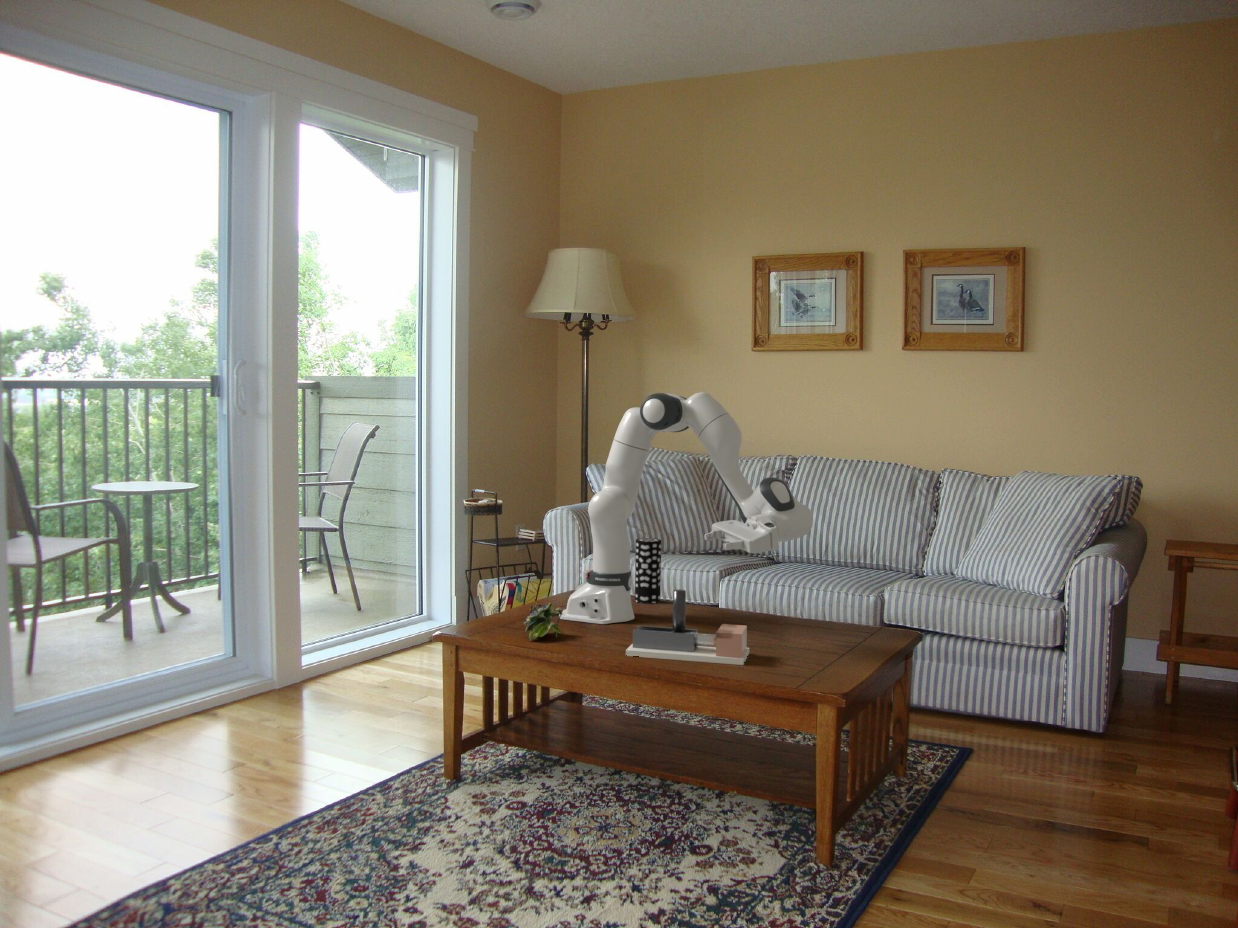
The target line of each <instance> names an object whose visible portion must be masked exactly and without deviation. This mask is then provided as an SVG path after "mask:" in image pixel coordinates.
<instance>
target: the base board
mask: <svg viewBox="0 0 1238 928" xmlns="http://www.w3.org/2000/svg"><path fill="white" fill-rule="evenodd" d="M749 654H750V647H746V650H745V652H744V654H743V656H742V658H735V657H722V656H716V647H704V646H698V647H697V648H696V650H695V651H694V652H685V651H672V650H659V649H646V648H633V642H632V643H631V644H630V645H629V646H628V647H627V648H626V649H625V656H626V655H627V656H626V657H633V656H639V657H638V658H649V659H657V660H658V659H659V660H672V661H673V660H674V661H684V662H686V661H687V662H695V663H696V662H699V663H709V664H711V663H712V664H721V665H722V664H724V665H737V666H744V665H745V663H746V660H747V659H748V657H749ZM747 656H748V657H747ZM744 662H745V663H744Z"/></svg>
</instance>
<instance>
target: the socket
mask: <svg viewBox="0 0 1238 928" xmlns="http://www.w3.org/2000/svg"><path fill="white" fill-rule="evenodd" d="M715 635H716V656H722V657H735V658H742V656H743V654H744V652H745V650H746V648H748V646H747V645H748V644H747V642H748V640H747V638H748V636H747V635H748V625H743V624H742V625H741V624H730V623H722V624H721V625H720V627H718V629H717V631H716V633H715Z"/></svg>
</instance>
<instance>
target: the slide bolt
mask: <svg viewBox="0 0 1238 928" xmlns="http://www.w3.org/2000/svg"><path fill="white" fill-rule="evenodd" d="M672 594H673V595H672V598H673V599H672V628H673V632H680V633H686V632H685V629H686V607H687V606H686V602H687V601H686V600H687V598H686V597H687V595H686V594H687V590H685V589H681V588H679V589H673V591H672ZM671 632H672V631H671ZM694 634H695V643H694V646H704V647H716V634H713V633H699V632H698V633H694Z"/></svg>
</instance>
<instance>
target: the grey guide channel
mask: <svg viewBox="0 0 1238 928" xmlns="http://www.w3.org/2000/svg"><path fill="white" fill-rule="evenodd" d="M671 631H672V632H671ZM685 632H686V633H680V632H673V627H669V626H667V627H666V626H657V625H656V626H654V625H642V624H641V625H636V628H633V629H632V643H633V648H646V649H659V650H672V651H685V652H694V651H695V650H696V648H697V647H698V646H694V643H695V634H694V633H699V629H697V628H695V629H694V628H685Z"/></svg>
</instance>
